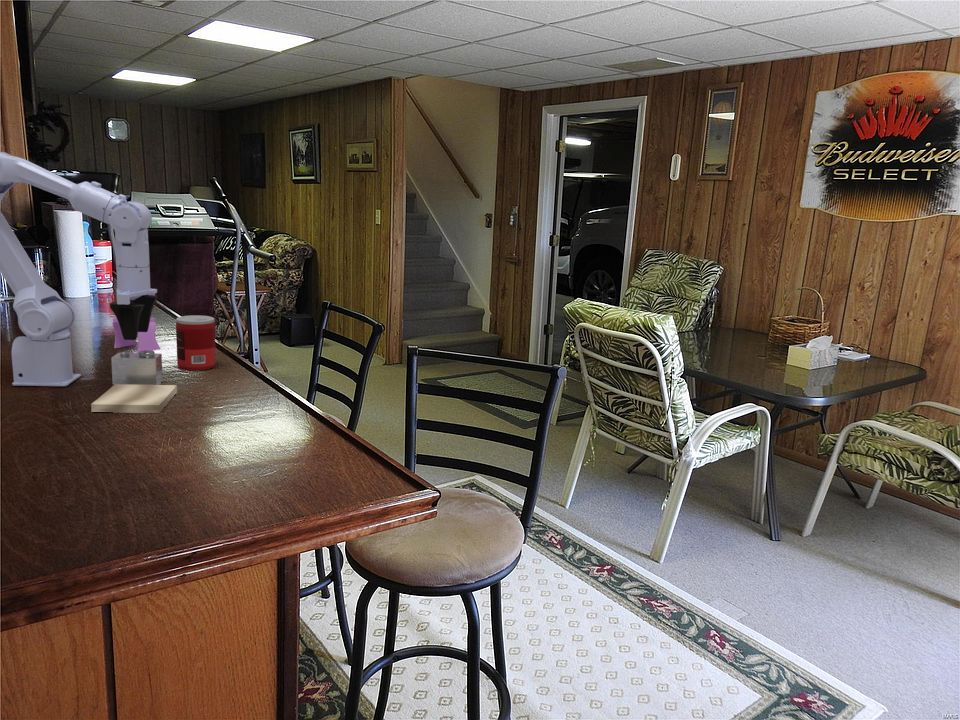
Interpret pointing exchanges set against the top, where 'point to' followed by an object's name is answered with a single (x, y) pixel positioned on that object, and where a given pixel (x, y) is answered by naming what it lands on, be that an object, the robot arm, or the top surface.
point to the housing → (137, 368)
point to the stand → (134, 398)
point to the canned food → (195, 342)
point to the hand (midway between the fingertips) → (136, 335)
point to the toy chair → (144, 338)
